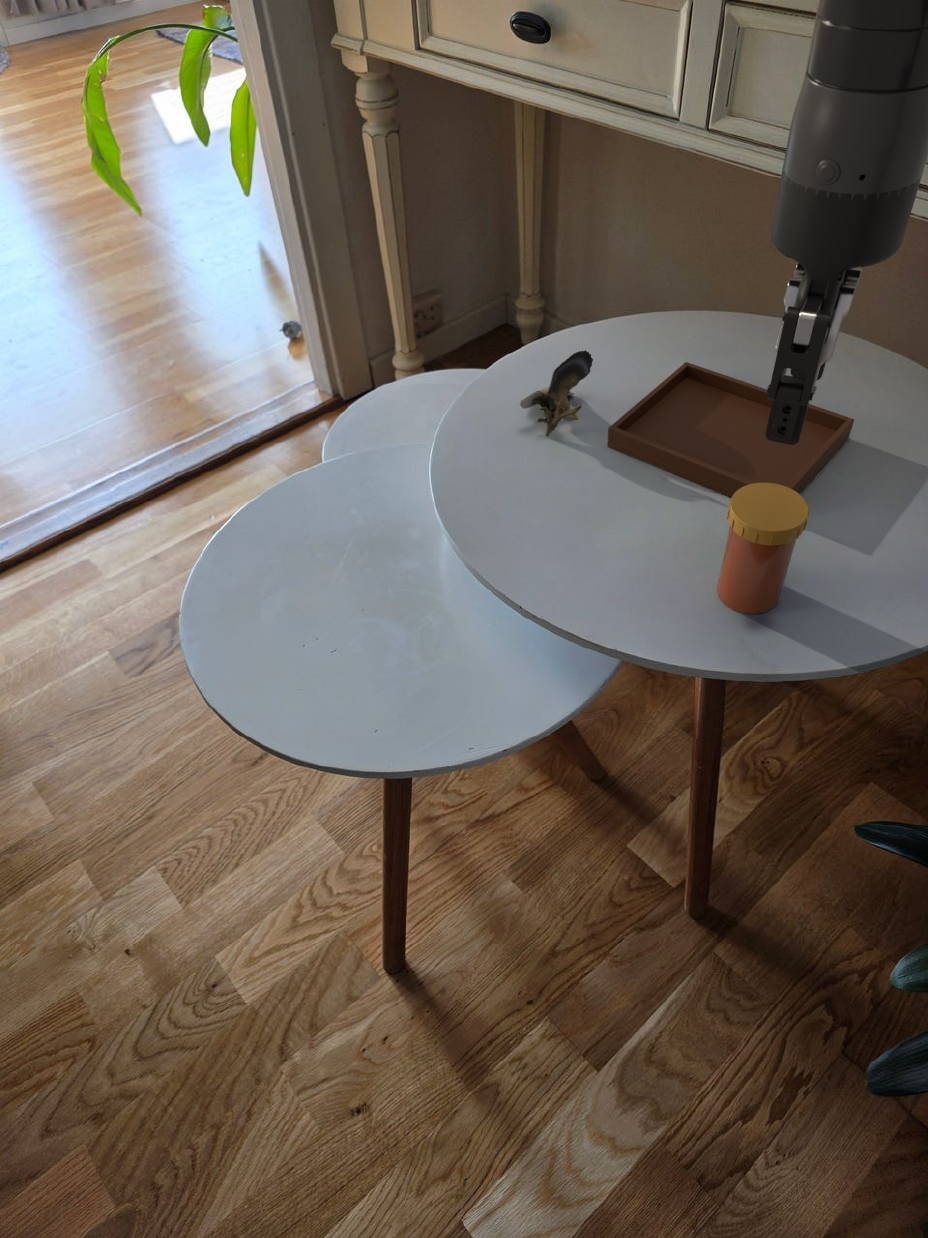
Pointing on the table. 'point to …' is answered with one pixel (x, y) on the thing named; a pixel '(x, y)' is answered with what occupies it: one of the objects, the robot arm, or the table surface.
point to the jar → (752, 574)
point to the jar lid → (768, 513)
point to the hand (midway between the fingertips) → (794, 406)
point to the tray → (723, 433)
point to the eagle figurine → (560, 390)
